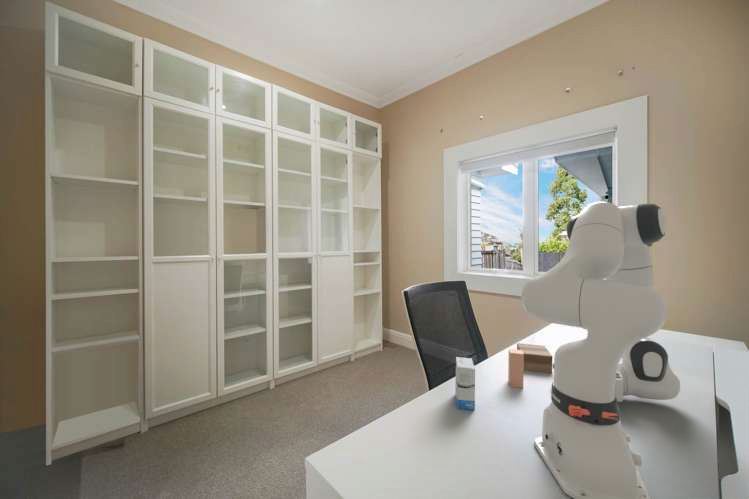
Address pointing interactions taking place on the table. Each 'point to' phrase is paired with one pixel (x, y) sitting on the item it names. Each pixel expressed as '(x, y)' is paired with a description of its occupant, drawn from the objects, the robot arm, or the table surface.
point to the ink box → (465, 383)
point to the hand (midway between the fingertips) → (557, 372)
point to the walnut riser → (536, 357)
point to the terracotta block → (516, 368)
